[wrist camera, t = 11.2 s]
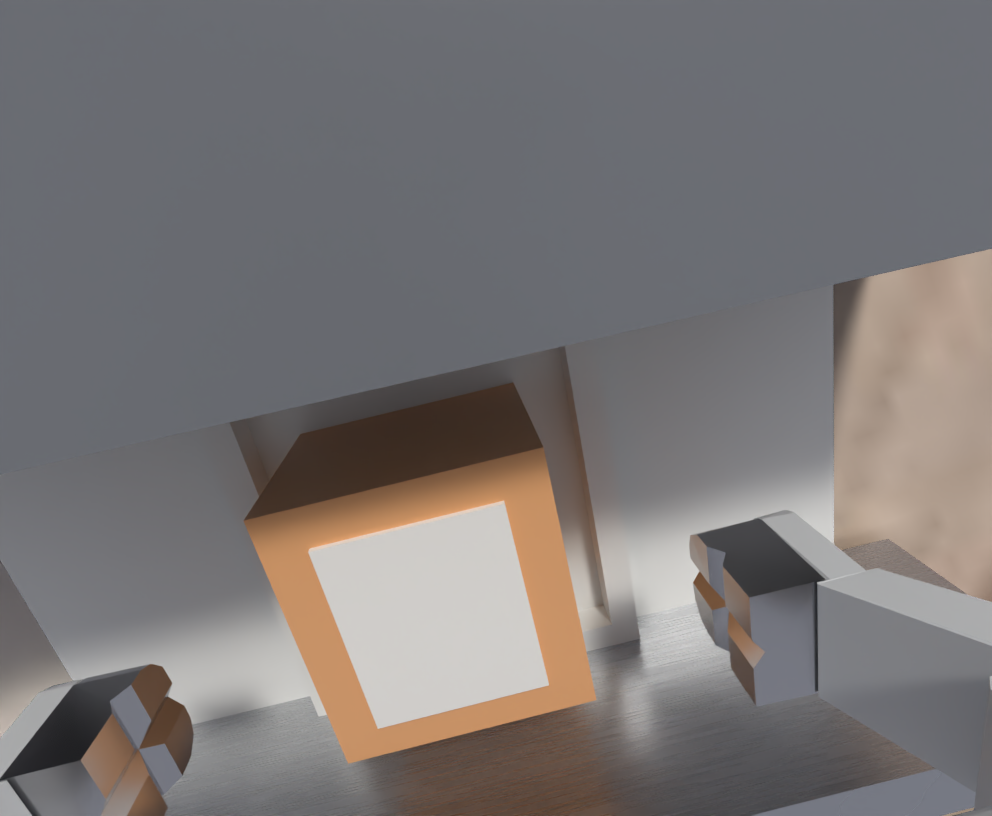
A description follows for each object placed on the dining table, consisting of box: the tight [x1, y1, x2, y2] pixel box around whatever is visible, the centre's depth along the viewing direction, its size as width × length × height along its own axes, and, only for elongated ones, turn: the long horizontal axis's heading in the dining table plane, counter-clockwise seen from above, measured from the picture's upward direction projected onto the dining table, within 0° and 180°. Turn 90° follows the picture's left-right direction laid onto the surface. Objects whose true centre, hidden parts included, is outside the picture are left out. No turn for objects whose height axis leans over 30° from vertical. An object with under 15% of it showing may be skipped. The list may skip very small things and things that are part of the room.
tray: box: [0, 285, 976, 816], centre depth 9 cm, size 16×22×6 cm
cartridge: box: [244, 383, 596, 764], centre depth 11 cm, size 5×4×4 cm
